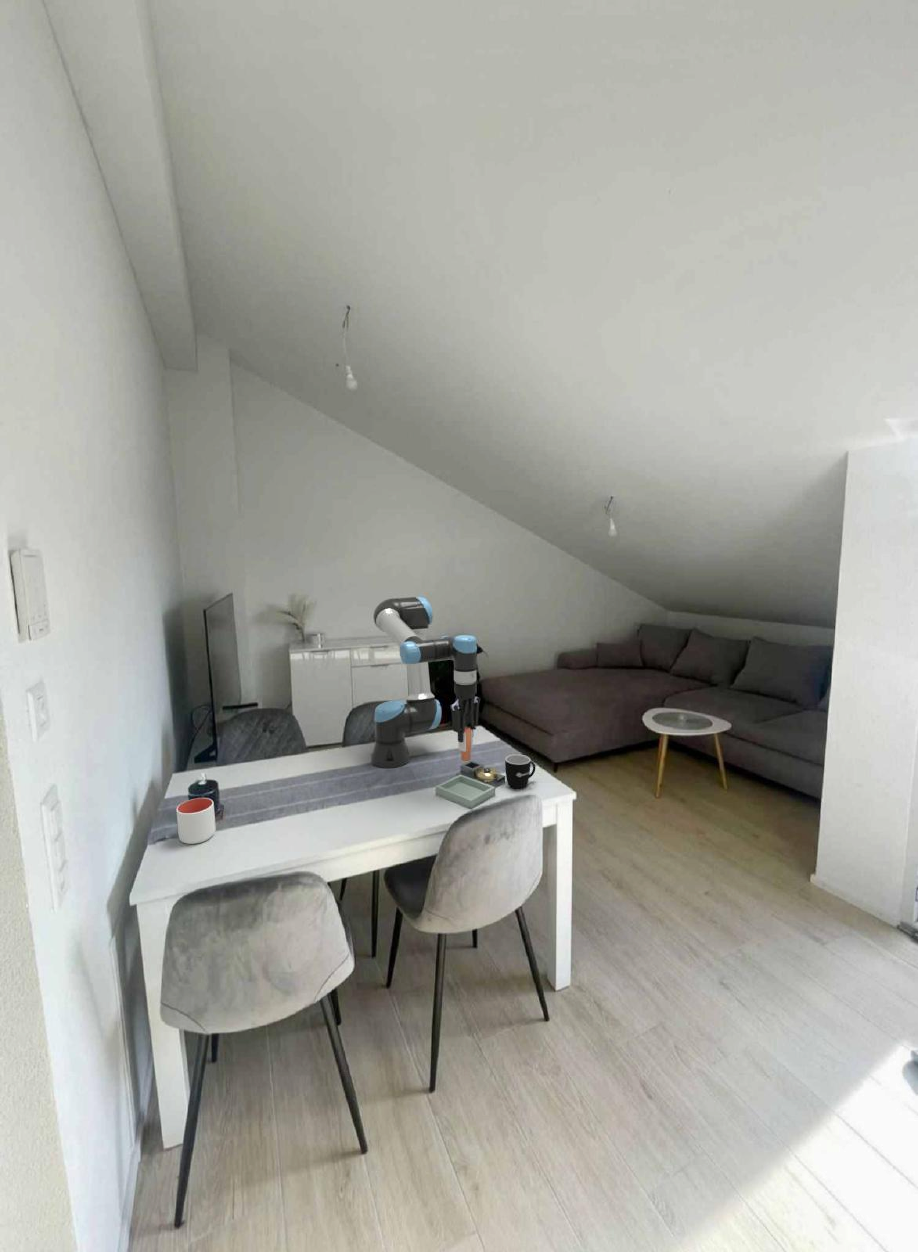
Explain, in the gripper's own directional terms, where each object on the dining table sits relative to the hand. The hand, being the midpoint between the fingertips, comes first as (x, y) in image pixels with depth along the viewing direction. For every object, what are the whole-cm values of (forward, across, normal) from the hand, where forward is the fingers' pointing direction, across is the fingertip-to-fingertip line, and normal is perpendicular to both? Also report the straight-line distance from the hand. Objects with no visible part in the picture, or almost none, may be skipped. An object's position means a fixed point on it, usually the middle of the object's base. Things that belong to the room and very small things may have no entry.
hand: (465, 748), depth 190 cm
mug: (+17, +19, -10) cm, 27 cm away
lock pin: (+4, 0, 0) cm, 4 cm away
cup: (+17, -73, +43) cm, 86 cm away
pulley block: (+17, +12, +3) cm, 21 cm away
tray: (+17, 0, 0) cm, 17 cm away
